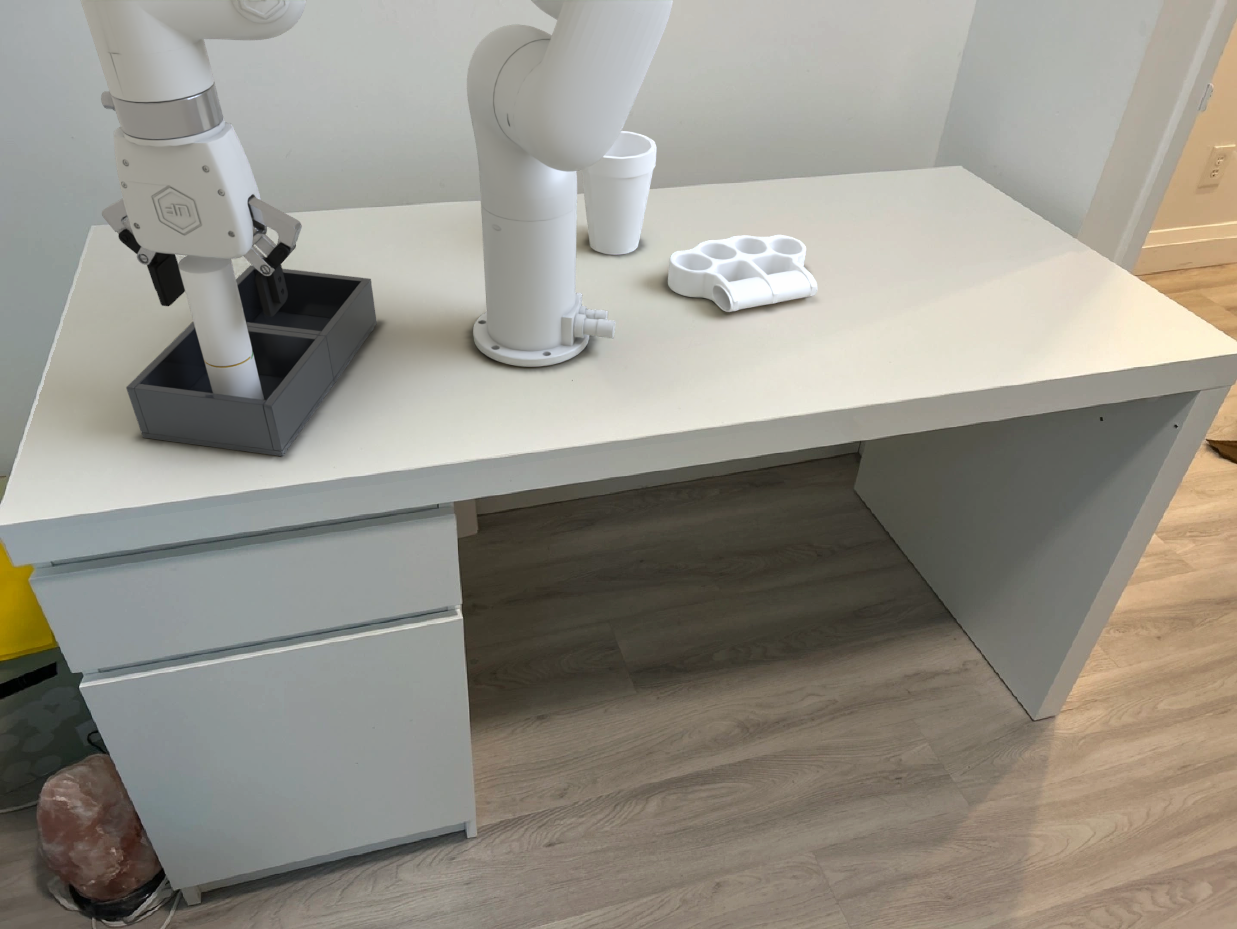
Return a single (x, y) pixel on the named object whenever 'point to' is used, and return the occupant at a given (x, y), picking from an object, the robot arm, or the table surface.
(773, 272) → the knuckle duster
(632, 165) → the foam cup
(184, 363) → the left basin
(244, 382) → the tube
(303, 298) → the right basin
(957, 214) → the table surface
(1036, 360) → the table surface
